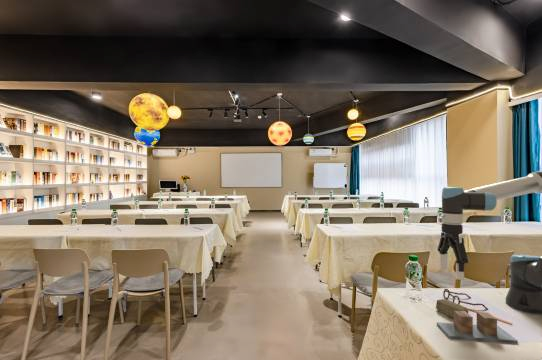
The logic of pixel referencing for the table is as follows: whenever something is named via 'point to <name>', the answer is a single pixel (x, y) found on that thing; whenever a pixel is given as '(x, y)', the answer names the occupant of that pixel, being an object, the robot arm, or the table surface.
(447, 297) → the glasses
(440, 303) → the stone block
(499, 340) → the bridge base
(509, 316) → the table surface
